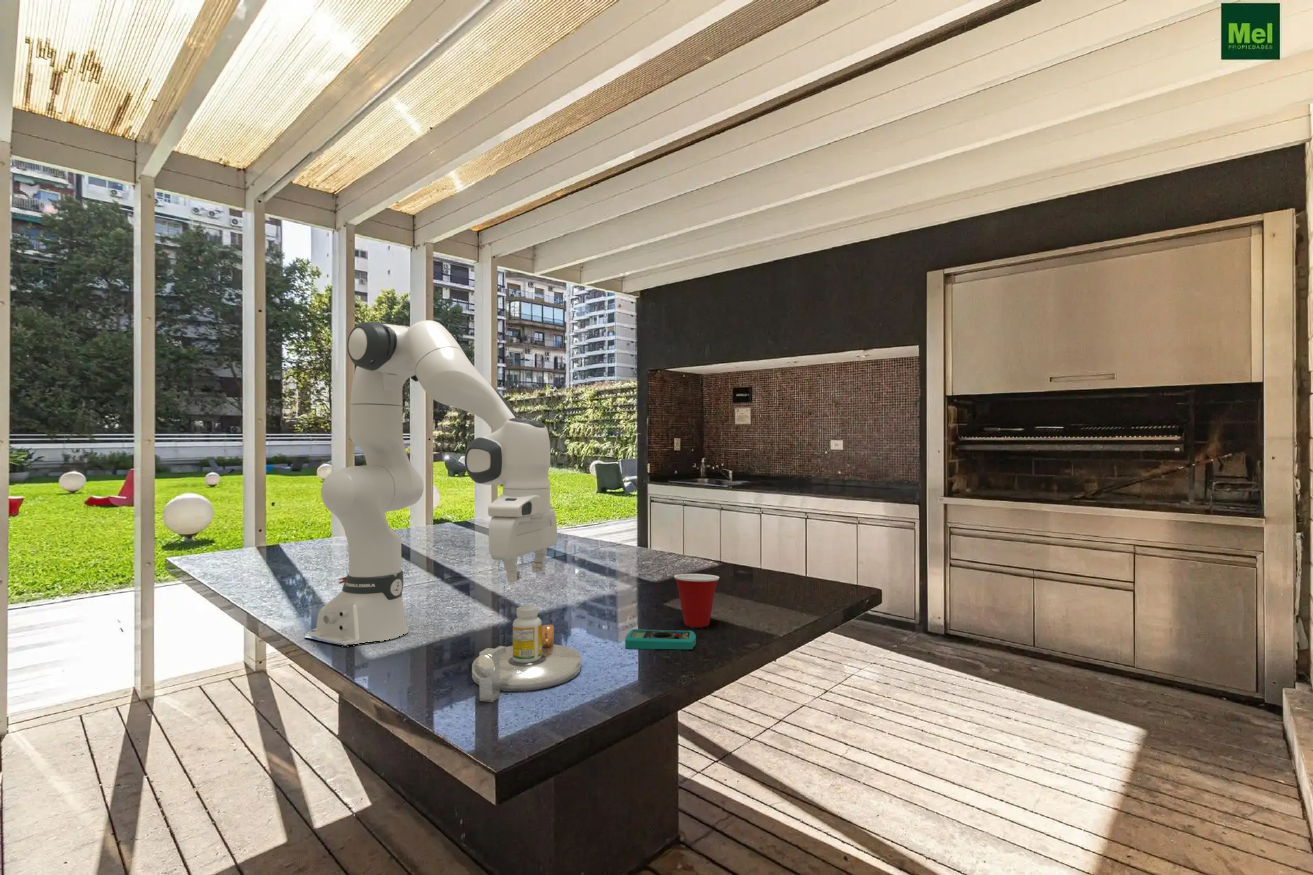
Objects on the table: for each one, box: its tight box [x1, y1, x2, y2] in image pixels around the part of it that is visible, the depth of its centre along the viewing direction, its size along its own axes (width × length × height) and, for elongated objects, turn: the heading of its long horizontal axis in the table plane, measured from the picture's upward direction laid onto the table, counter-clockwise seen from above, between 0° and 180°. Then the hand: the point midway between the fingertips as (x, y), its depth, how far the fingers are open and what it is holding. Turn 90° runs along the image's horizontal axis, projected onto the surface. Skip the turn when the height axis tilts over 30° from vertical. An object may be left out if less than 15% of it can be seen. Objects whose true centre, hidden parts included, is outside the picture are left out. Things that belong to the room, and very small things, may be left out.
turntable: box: [471, 624, 582, 692], centre depth 116 cm, size 20×20×6 cm
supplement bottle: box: [512, 605, 542, 663], centre depth 116 cm, size 5×5×10 cm
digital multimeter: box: [624, 628, 697, 650], centre depth 131 cm, size 7×15×3 cm, turn 83°
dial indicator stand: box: [473, 645, 507, 703], centre depth 104 cm, size 4×6×8 cm, turn 164°
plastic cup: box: [673, 573, 720, 627], centre depth 146 cm, size 11×11×12 cm
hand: (525, 576), depth 116 cm, fingers open, 8 cm apart
